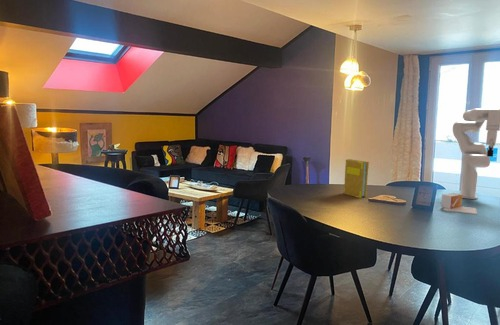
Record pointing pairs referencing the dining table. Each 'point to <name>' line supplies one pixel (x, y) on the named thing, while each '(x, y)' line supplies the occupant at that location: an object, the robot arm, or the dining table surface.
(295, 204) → the dining table surface
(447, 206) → the small box
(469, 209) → the mat
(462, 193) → the robot arm
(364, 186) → the book
